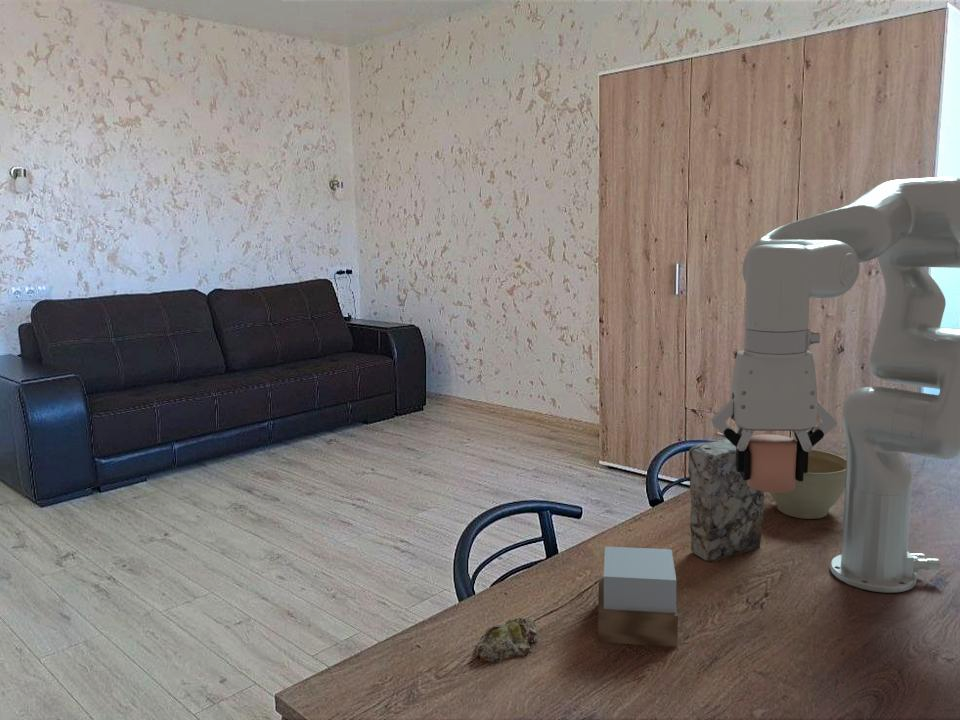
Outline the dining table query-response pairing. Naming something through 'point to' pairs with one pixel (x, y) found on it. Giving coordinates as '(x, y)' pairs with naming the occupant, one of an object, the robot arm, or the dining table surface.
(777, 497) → the planter bowl
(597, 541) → the dining table surface
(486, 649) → the mineral rock
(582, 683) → the dining table surface
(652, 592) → the slate cap block
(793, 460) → the dusty-pink cylinder
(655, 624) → the walnut base block
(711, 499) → the stone block
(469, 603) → the dining table surface
